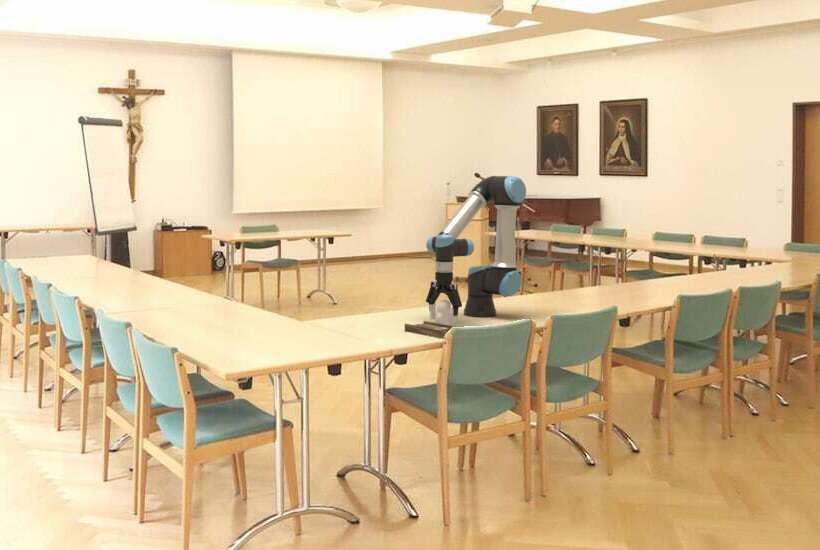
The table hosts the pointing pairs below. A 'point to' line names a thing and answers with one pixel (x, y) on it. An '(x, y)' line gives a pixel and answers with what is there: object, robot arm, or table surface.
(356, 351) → the table surface
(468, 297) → the robot arm
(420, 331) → the flange rail
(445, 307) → the figurine
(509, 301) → the table surface
